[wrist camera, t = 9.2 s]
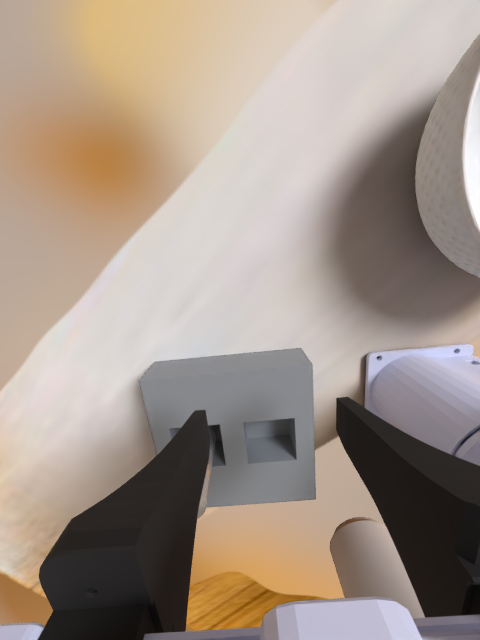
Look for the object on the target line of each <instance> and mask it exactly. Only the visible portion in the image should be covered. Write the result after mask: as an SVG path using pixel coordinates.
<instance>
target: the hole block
mask: <svg viewBox="0 0 480 640" xmlns="http://www.w3.org/2000/svg"><path fill="white" fill-rule="evenodd" d="M139 383H140V387H141V391H142V396H143V400H144V404H145V408H146V412H147V416H148V420H149V425H150V429H151V433H152V437H153V441H154V445H155V449H156V453H157V455H158V454H159V453H160V452H161V451H162V450H163V448H164V447H165V446H166V445H167V444H168V443H169V442H170V441H171V440H172V438H173V437H174V436H175V435H176V433H177V432H178V431H179V430H180V429H181V427H182V426H183V425H184V423H185V422H186V421H187V420H188V418H189V417H190V416H191V414H192V413H193V412H194V411H195V410H206V416H207V422H208V425H218V429H217V435H216V442H215V449H214V456H213V463H212V469H211V476H210V483H209V490H208V497H207V503H206V507H220V506H233V505H246V504H259V503H273V502H287V501H300V500H313V499H316V488H315V448H314V408H313V368H312V363H311V362H310V360H309V359H308V357H307V356H306V354H305V353H304V352H303V350H302V349H301V348H296V349H285V350H275V351H264V352H254V353H243V354H233V355H222V356H212V357H201V358H191V359H180V360H170V361H159V362H154V363H153V365H152V366H151V367H150V368H149V369H148V370H147V372H146V373H145V374H144V375H143V376H142V378H141V379H140V380H139Z"/></svg>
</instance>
